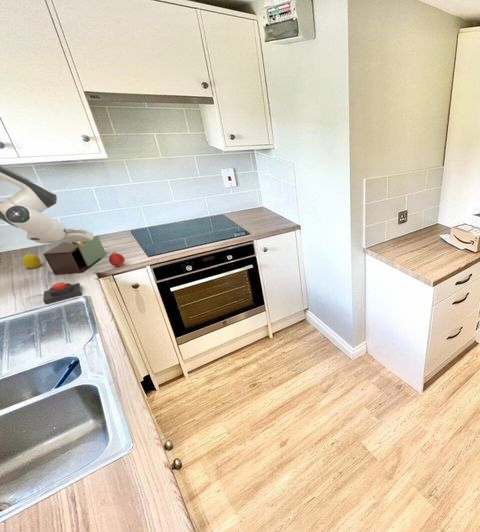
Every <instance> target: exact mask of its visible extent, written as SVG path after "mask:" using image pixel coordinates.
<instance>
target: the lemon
mask: <svg viewBox="0 0 480 532" xmlns="http://www.w3.org/2000/svg"><path fill="white" fill-rule="evenodd" d="M21 261H22V264H23V266H25V267H26V268H28V269H38V268H39V267H40V266H41V264H42V261H41V259H40V258H39V257H38V256H37V255H35V254H32V253H31V254H30V253H26V254H25V255H24V256H22V259H21Z"/></svg>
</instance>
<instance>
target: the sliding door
mask: <svg viewBox="0 0 480 532" xmlns="http://www.w3.org/2000/svg"><path fill="white" fill-rule="evenodd" d="M77 246H78V249H79V251H80V253H81V255H82V257H83V259H84V261H85V263H86V265H87V267H89V266H90V265H91V264H93V263H94V262H95V261H97V260H98V259H99V258H103V257H104V256H105V255H107V253H106V251H105V249H104V246H103V244H102V241H101V240H100V237H99V235H95V236H93V240H92V241H87V242H86V243H84V244H83V242H82V241H81V242H80V244H77Z"/></svg>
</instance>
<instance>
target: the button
mask: <svg viewBox="0 0 480 532" xmlns="http://www.w3.org/2000/svg"><path fill="white" fill-rule="evenodd" d="M65 283H66V282H63V281H61V282H57V283H54V284H52V285H51V287H52V288H53V290H54V291H55V290H61V289H64V288H66V287H67V286H66V284H65Z"/></svg>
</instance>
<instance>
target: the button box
mask: <svg viewBox="0 0 480 532" xmlns="http://www.w3.org/2000/svg"><path fill="white" fill-rule="evenodd" d="M64 283H65V284H66V286H67V287H66V288H64V289H61V290H55V291H54V290H53V288H52V286H51V287H50V288H48V290H44V291H43V296H42V297H43V298H42V301H43V303H44V305H45V306H46V304H47V305H51V304H55V303H58V302H62V301H66V300H69V299H73V298H76V297H81V296H83V288H82V285H81V283H80V282H77V283H73V284H72V283H68V282H64Z"/></svg>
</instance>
